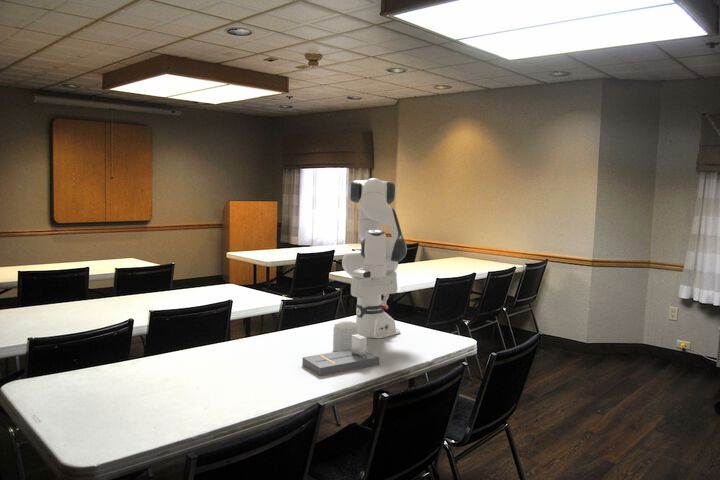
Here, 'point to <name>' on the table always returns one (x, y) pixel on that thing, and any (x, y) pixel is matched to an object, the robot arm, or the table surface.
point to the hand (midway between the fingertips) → (374, 306)
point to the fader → (359, 344)
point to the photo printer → (344, 335)
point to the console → (339, 362)
